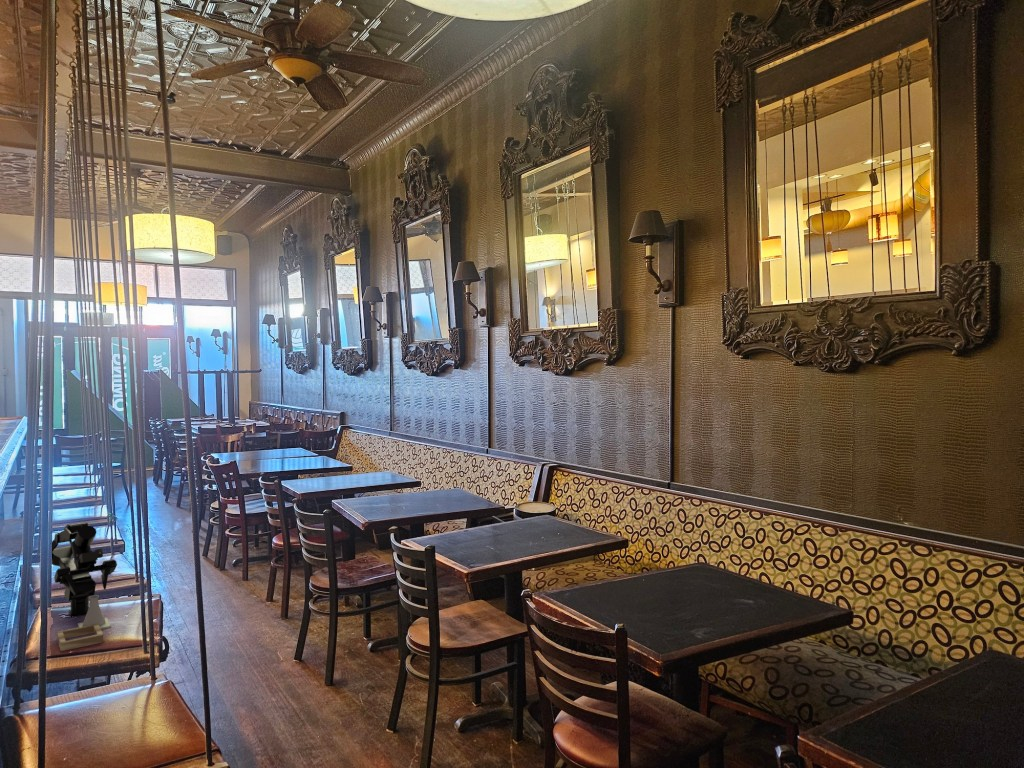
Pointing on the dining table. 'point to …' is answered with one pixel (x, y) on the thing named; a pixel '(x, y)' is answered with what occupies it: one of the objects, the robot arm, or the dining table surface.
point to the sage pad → (105, 625)
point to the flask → (94, 613)
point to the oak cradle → (80, 641)
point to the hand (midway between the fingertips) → (90, 591)
